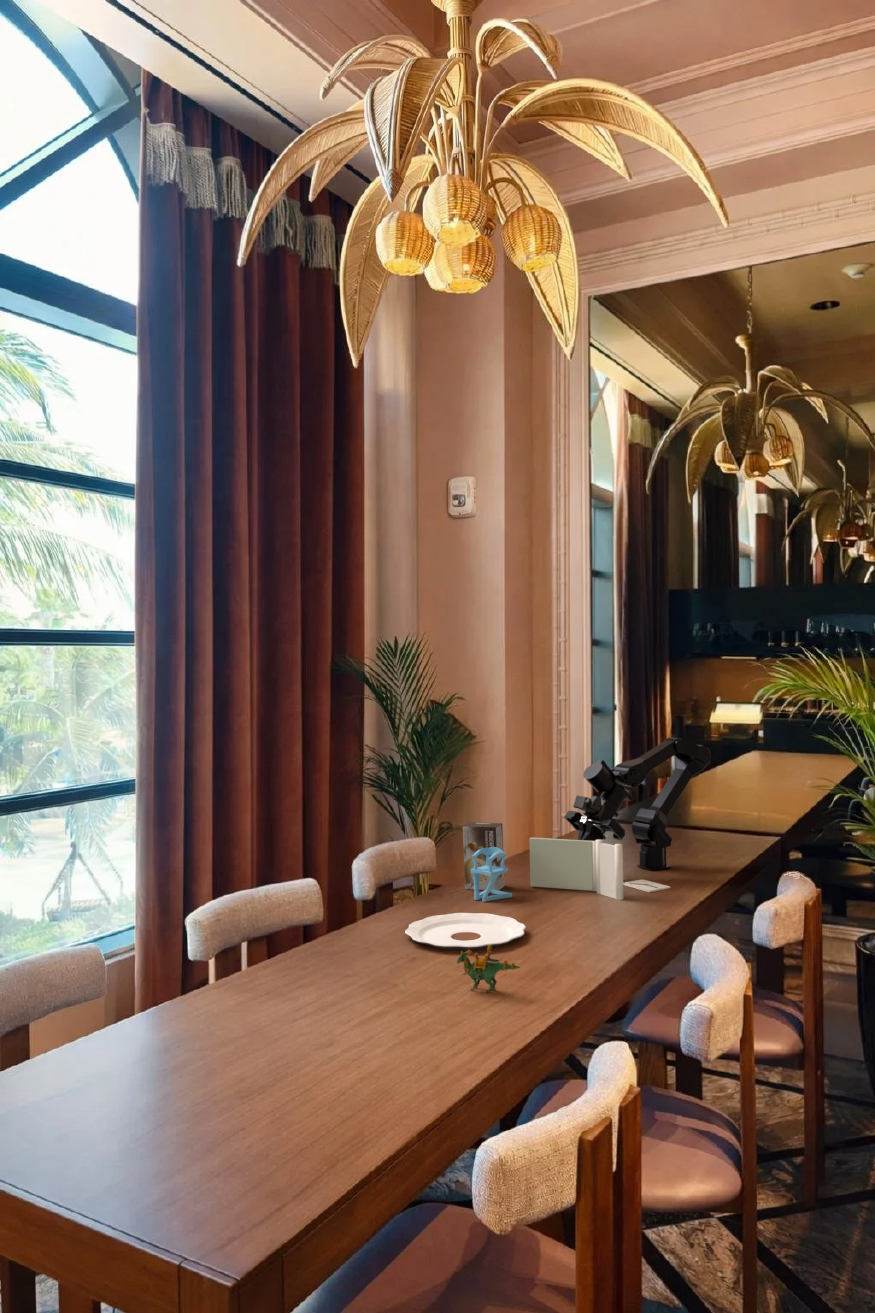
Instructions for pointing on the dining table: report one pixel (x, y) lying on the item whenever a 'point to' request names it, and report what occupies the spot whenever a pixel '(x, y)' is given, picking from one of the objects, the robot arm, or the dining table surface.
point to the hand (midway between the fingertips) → (577, 850)
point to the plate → (465, 930)
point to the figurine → (483, 968)
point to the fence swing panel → (563, 863)
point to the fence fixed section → (609, 869)
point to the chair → (489, 874)
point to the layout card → (646, 885)
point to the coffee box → (475, 840)
